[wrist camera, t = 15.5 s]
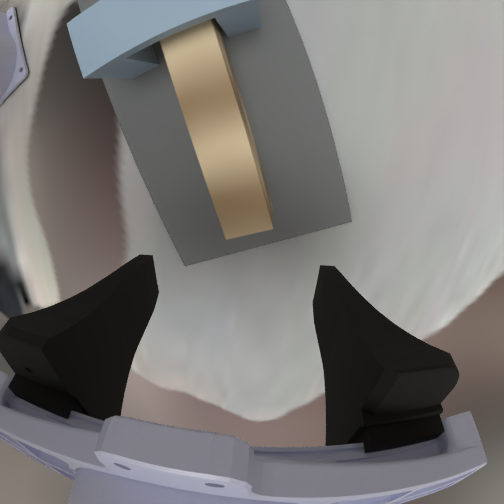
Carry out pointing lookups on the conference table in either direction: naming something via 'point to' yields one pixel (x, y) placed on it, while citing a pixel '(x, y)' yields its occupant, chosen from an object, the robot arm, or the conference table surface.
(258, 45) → the mat
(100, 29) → the light blue u-channel
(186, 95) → the tan wooden bar
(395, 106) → the conference table surface
